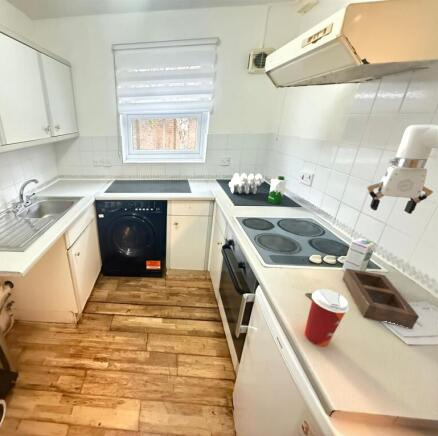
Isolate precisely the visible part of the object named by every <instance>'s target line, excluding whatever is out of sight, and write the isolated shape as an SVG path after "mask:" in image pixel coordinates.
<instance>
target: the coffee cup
mask: <svg viewBox="0 0 438 436" xmlns="http://www.w3.org/2000/svg"><path fill="white" fill-rule="evenodd" d="M312 293H313V294H312V299H311V303H310V307H309V312H308V315H307V319H306V323H305V327H304V337H305V338H306V340H307V341H308V342H309V343H312V345H315V346H318V347H327V346H328V345H329V343H330V341H331V340H332V338H333V336H334V334H335V332H336V331H337V329H338V327H339V326H340V324H341V322H342V319H343V318H344V316H345V314H346V313H348V312H349V310H350V307H349V302H348V300H347V298H345V296H344V295H342V294H341V293H338V292H336V291H334V290H331V289H326V288H319V289H317V290H315V291H314V292H312Z"/></svg>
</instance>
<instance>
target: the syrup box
mask: <svg viewBox="0 0 438 436" xmlns="http://www.w3.org/2000/svg"><path fill="white" fill-rule="evenodd" d="M376 245H377V243H376V242H373V241H371V240H369V239H365V238H361V237H359V238H356V239H354V240H351V242H350V245H349V247H348V251H347V254H346V256H345V259H344V262H343V264H342V268H341V271H342V272H344V273H345V270H346V268H347V269H352V270H358V271H364V272H367V268H368V265H369V263H370V260H371V258H372V256H373V253H374V250H375V247H376Z"/></svg>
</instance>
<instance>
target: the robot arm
mask: <svg viewBox="0 0 438 436" xmlns="http://www.w3.org/2000/svg"><path fill="white" fill-rule="evenodd" d="M432 149H438V124H423V123H421V124H410V125H408V126H407V127H406V128H405V130H404V133H403V136H402V138H401V141H400V143H399V146H398V149H397V152H396V155H395V156H394V158H393V159H389V160H388V164H391V165H390V166H389V167H388V168H387V170H386V171H385V173H384V175H383V177H382V178H381V181H380V182H378V183H374V184H369V185H368V186H366V189H367V192H368V194H369V196H370V197H371V198H372V199H371V202H370V205H369V207H370V209H371V210H373V211H377V210H378V208H379V205H380V202H381V200H380V199H382V198H383V197H392V198H404V199H405V198H406V199H410V200H408V201H407V203H406V205H405V208H404V210H403V211H404V212H405V213H407V214H409V215H411V214H412V213H413V212H414V211H415V209H416V207H417V204H419V203H421V202H422V201H424V200H426V199H427V198H428V197H429V196H430V195H432V194H433V193H434V191H433V190H431V189H429V188H427V187H426V186H425V184H426V179H427V172H428V168H425V166H426V164H427V162H428V159H429V156H430V154H431V152H432ZM376 189H377V192H375V191H374V190H376Z"/></svg>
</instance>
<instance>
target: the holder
mask: <svg viewBox="0 0 438 436" xmlns="http://www.w3.org/2000/svg"><path fill="white" fill-rule="evenodd" d="M342 281H343V283H344V284H345V286H346V288H347V290H348V292H349V294H350V295H351V297H352V299H353V301H354V302H355V304H356V306H357V308H358V310H359V311H360V313H361V315H362V318H365V319H369V320H374V321H376V322H377V321H378V322H382V321H387V322H391V323H395V324H398V325H402V326H404V327H403V328H406V327H408V329H411V330H412V329H413V328H414V326H415V325H416V323H417V321H418V319H419V318H420V316H419V314H418V313H417V312H416V311H415V309H414V308H413V307H412V306H411V305H410V304H409V302H408V301H407V300H406V298H405V297H404V296H403V295H402V294H401V293H400V291H398V289H397V288H396V287H395V286H394V285H393V283H392V282H391V281H390V280H389V278H388V277H387V276H386V275H385V274H380V273H376V272H375V273H374V272H368V271H365V272H364V271H358V270H352V269H347V268H346V270H345V272H344V273H343V276H342ZM382 323H383V322H382ZM398 325H397V326H398ZM402 326H401V327H402Z"/></svg>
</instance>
